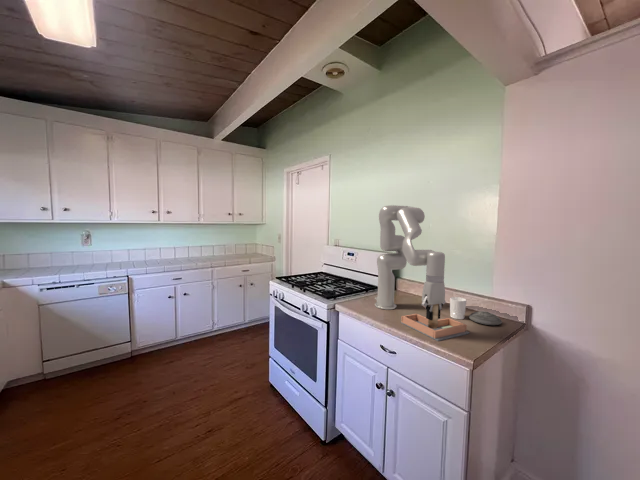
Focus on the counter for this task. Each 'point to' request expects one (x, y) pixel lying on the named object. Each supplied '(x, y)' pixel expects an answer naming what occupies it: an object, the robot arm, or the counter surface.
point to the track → (444, 329)
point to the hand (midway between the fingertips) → (433, 318)
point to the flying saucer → (485, 318)
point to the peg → (434, 317)
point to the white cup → (457, 307)
